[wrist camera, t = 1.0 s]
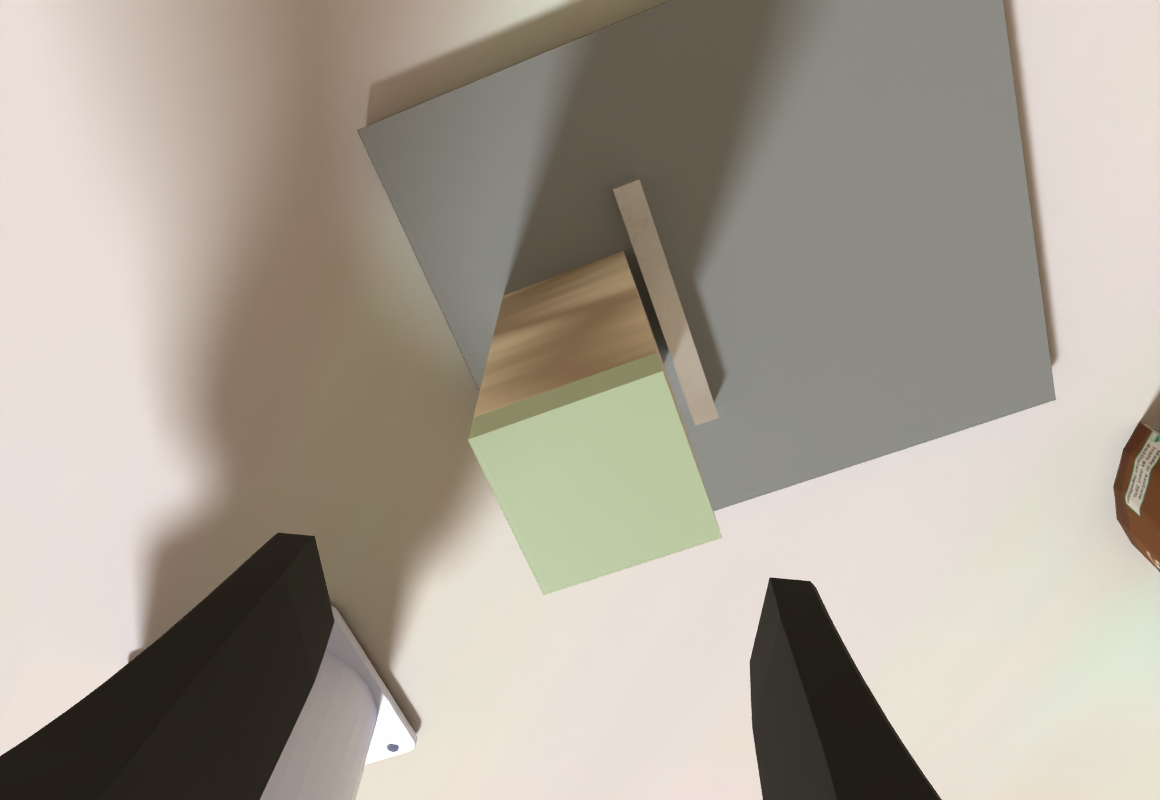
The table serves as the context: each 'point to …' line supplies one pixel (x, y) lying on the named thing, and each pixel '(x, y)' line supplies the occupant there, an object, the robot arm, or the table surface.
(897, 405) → the mat
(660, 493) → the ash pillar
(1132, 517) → the food container
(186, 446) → the table surface
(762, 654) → the robot arm
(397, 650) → the table surface
